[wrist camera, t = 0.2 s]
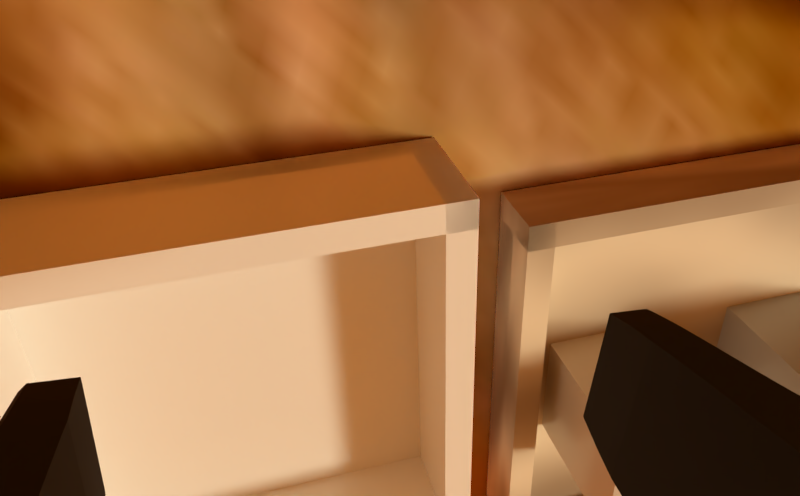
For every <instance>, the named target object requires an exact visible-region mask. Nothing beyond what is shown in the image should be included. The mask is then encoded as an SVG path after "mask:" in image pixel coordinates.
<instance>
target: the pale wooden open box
mask: <svg viewBox="0 0 800 496" xmlns="http://www.w3.org/2000/svg"><path fill="white" fill-rule="evenodd" d="M479 206H480V198H479V197H478V196H477V194H476V193H475V192H474V190H473V189H472V188H471V186H470V185H469V184H468V182H467V181H466V180H465V178H464V177H463V176H462V174H461V173H460V172H459V170H458V169H457V168H456V166H455V165H454V164H453V162H452V161H451V160H450V158H449V157H448V156H447V154H446V153H445V152H444V150H443V149H442V148H441V146H440V145H439V144H438V142H437V141H436V140H435V138H434V137H433V138H426V139H419V140H412V141H405V142H398V143H391V144H384V145H377V146H370V147H363V148H356V149H349V150H342V151H335V152H328V153H321V154H314V155H307V156H300V157H293V158H286V159H279V160H272V161H265V162H258V163H251V164H244V165H237V166H230V167H223V168H216V169H209V170H202V171H195V172H188V173H181V174H174V175H167V176H160V177H153V178H146V179H139V180H132V181H125V182H118V183H111V184H104V185H97V186H90V187H84V188H77V189H70V190H63V191H56V192H49V193H42V194H35V195H28V196H21V197H14V198H7V199H0V420H1V418H2V417H3V415H4V413H5V412H6V410H7V409H8V407H9V405H10V404H11V402H12V401H13V399H14V397H15V396H16V394H17V392H18V391H19V390H20V389H21V388H22V387H23V386H24V385H25V384H26V383H34V382H42V381H51V380H59V379H67V378H75V377H81V381H82V385H83V390H84V395H85V399H86V404H87V409H88V413H89V418H90V423H91V427H92V432H93V437H94V441H95V446H96V451H97V455H98V460H99V465H100V469H101V474H102V479H103V483H104V488H105V496H471V463H472V431H473V399H474V367H475V334H476V302H477V270H478V238H479Z"/></svg>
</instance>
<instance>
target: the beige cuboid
mask: <svg viewBox="0 0 800 496" xmlns="http://www.w3.org/2000/svg"><path fill="white" fill-rule="evenodd" d="M604 334H605V333H600V334H595V335H590V336H586V337H581V338H576V339H571V340H566V341H562V342H557V343H552V344H550V352H549V362H548V372H547V381H546V391H545V401H544V411H543V420H542V425H543V427H544V429H545V430H546V432H547V434H548V435H549V437H550V439H551V441H552V442H553V444H554V446H555V447H556V449H557V451H558V453H559V454H560V456H561V458H562V459H563V461H564V463H565V465H566V466H567V468H568V470H569V471H570V473H571V475H572V477H573V478H574V480H575V482H576V483H577V485H578V487H579V489H580V490H581V492H582V494H583V495H584V496H622V495H621V494H620V492H619V490H618V489H617V487H616V485H615V484H614V482H613V480H612V479H611V477H610V475H609V473H608V471H607V469H606V466H605V464H604V462H603V460H602V458H601V456H600V454H599V452H598V450H597V447H596V445H595V443H594V441H593V438H592V436H591V434H590V431H589V429H588V427H587V424H586V422H585V420H584V418H583V415H584V411H585V407H586V403H587V399H588V396H589V392H590V388H591V384H592V380H593V376H594V372H595V369H596V365H597V361H598V357H599V353H600V349H601V345H602V342H603V338H604Z"/></svg>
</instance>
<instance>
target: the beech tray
mask: <svg viewBox="0 0 800 496" xmlns="http://www.w3.org/2000/svg"><path fill="white" fill-rule="evenodd" d="M796 292H800V144H796V145H790V146H784V147H778V148H771V149H765V150H759V151H753V152H747V153H741V154H734V155H728V156H722V157H716V158H710V159H703V160H697V161H691V162H685V163H679V164H673V165H666V166H660V167H654V168H648V169H642V170H635V171H629V172H623V173H617V174H611V175H605V176H598V177H592V178H586V179H580V180H574V181H567V182H561V183H555V184H549V185H543V186H537V187H530V188H524V189H518V190H512V191H506V192H501V209H500V229H499V250H498V270H497V291H496V311H495V331H494V352H493V372H492V393H491V413H490V434H489V454H488V475H487V495H486V496H584V495H583V494H582V492H581V490H580V489H579V487H578V485H577V483H576V482H575V480H574V478H573V477H572V475H571V473H570V471H569V470H568V468H567V466H566V465H565V463H564V461H563V459H562V458H561V456H560V454H559V453H558V451H557V449H556V447H555V446H554V444H553V442H552V441H551V439H550V437H549V435H548V434H547V432H546V430H545V429H544V427H543V425H542V420H543V411H544V401H545V391H546V381H547V372H548V362H549V352H550V344H552V343H557V342H562V341H566V340H571V339H576V338H581V337H586V336H590V335H595V334H600V333H605V330H606V326H607V322H608V318H609V315H610V313H616V312H624V311H632V310H641V309H648V310H650V311H652V312H654V313H656V314H658V315H660V316H662V317H664V318H666V319H668V320H670V321H672V322H673V323H675V324H677V325H679V326H681V327H682V328H684V329H686V330H688V331H689V332H691V333H693V334H695V335H696V336H698V337H700V338H702V339H703V340H705V341H707V342H708V343H710V344H712V345H713V346H715V347H717V344H718V341H719V337H720V333H721V329H722V325H723V322H724V318H725V314H726V310H727V307H729V306H734V305H739V304H744V303H748V302H753V301H758V300H763V299H767V298H772V297H777V296H782V295H787V294H791V293H796Z"/></svg>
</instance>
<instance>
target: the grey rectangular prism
mask: <svg viewBox="0 0 800 496" xmlns="http://www.w3.org/2000/svg"><path fill="white" fill-rule="evenodd" d="M717 348H719V349H720V350H722V351H724V352H725V353H727V354H729V355H730V356H732V357H734V358H736V359H737V360H739V361H741V362H742V363H744V364H746V365H747V366H749V367H751V368H753V369H754V370H756V371H758V372H759V373H761V374H763V375H765V376H766V377H768V378H770V379H772V380H773V381H775V382H777V383H778V384H780V385H782V386H784V387H785V388H787V389H789V390H791V391H792V392H794V393H796V394H798V395H800V292H796V293H791V294H787V295H782V296H777V297H772V298H767V299H763V300H758V301H753V302H748V303H744V304H739V305H734V306H729V307H727V310H726V314H725V318H724V322H723V325H722V329H721V333H720V337H719V341H718V344H717Z"/></svg>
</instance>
